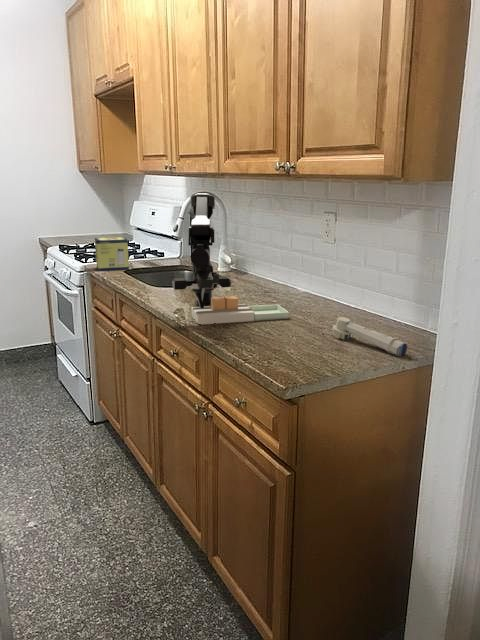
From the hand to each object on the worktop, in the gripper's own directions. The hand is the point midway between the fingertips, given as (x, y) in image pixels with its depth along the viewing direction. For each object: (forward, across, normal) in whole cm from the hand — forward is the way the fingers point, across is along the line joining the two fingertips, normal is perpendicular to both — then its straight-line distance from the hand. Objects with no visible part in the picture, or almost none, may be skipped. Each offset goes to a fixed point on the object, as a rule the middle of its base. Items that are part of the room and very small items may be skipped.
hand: (201, 308), depth 184 cm
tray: (+4, +23, 0) cm, 23 cm away
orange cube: (+1, +10, 0) cm, 10 cm away
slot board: (+4, +7, 0) cm, 8 cm away
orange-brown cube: (+1, +6, 0) cm, 6 cm away
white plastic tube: (+4, +41, -39) cm, 57 cm away
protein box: (+4, -25, +110) cm, 113 cm away
